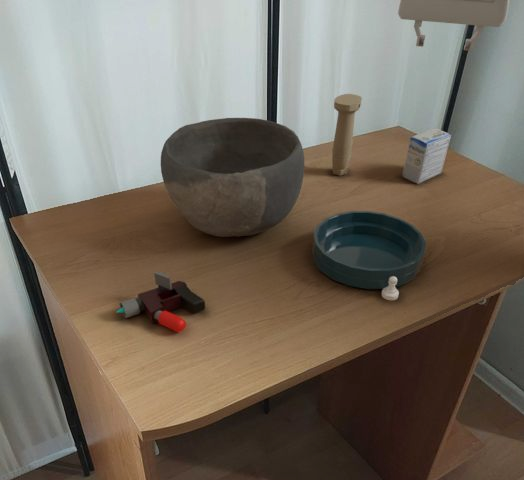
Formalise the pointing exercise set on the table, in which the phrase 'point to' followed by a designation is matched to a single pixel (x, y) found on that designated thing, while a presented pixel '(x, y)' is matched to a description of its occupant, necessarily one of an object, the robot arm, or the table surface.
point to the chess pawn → (391, 290)
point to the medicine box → (426, 155)
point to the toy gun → (164, 303)
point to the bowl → (233, 174)
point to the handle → (344, 131)
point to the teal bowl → (368, 249)
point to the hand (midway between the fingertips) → (443, 47)
